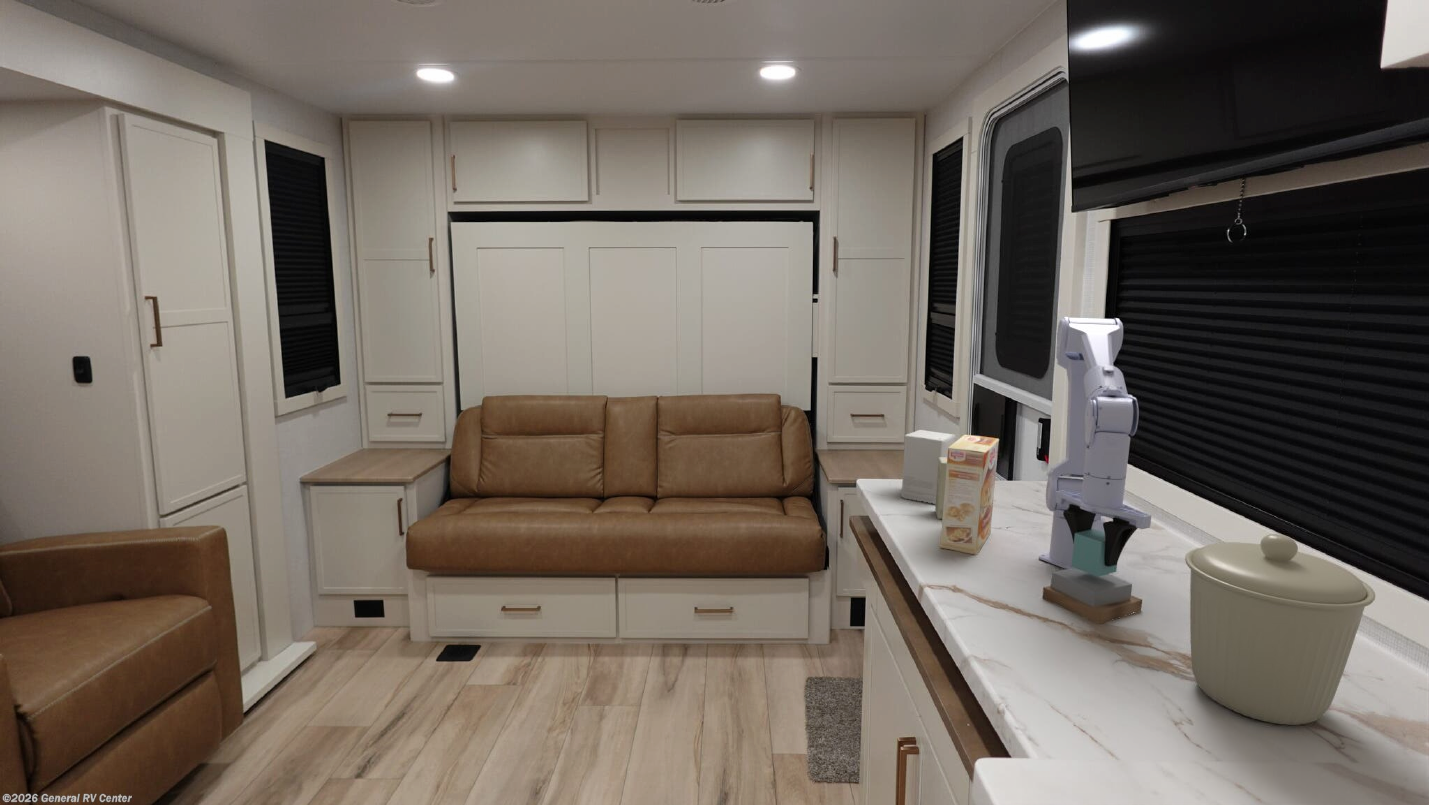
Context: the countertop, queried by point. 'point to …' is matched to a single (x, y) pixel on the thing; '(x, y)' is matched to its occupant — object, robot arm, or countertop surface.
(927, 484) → the supplement box
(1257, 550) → the canister
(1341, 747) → the countertop surface
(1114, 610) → the walnut slab
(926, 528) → the countertop surface
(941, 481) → the skincare box
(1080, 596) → the gray square slab
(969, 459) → the coffeecake box
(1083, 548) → the teal block
